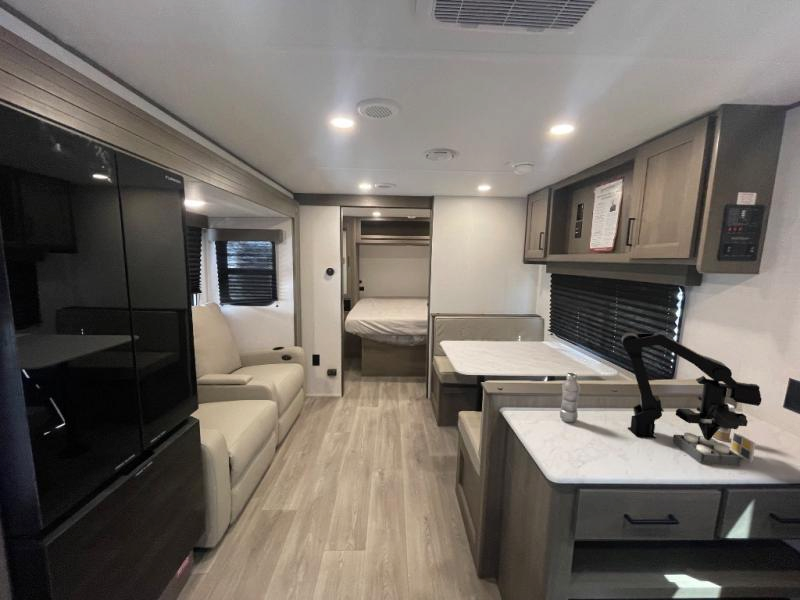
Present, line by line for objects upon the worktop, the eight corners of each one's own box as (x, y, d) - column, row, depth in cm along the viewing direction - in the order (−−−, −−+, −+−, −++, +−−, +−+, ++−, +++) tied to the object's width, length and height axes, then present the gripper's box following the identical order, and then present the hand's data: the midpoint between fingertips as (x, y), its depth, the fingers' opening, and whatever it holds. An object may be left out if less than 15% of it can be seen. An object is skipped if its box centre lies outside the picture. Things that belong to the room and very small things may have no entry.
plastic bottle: (555, 417, 130) (559, 372, 128) (568, 415, 132) (572, 370, 130) (568, 425, 124) (572, 378, 122) (581, 423, 126) (585, 376, 124)
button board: (700, 463, 102) (701, 454, 101) (672, 442, 113) (673, 434, 113) (739, 466, 100) (741, 457, 100) (707, 444, 112) (708, 436, 112)
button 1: (688, 444, 108) (689, 437, 108) (680, 438, 111) (681, 432, 111) (700, 445, 108) (701, 438, 107) (691, 439, 111) (692, 432, 111)
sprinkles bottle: (730, 439, 116) (736, 405, 114) (727, 443, 113) (733, 408, 111) (713, 433, 119) (718, 400, 118) (710, 437, 117) (715, 403, 115)
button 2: (701, 457, 103) (702, 450, 102) (692, 450, 106) (693, 444, 106) (713, 458, 102) (714, 451, 102) (704, 451, 106) (705, 445, 106)
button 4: (720, 455, 102) (721, 448, 102) (710, 448, 106) (711, 442, 105) (732, 455, 102) (733, 449, 101) (721, 449, 105) (722, 442, 105)
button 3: (705, 448, 108) (706, 442, 107) (696, 442, 111) (697, 436, 111) (716, 449, 107) (717, 442, 107) (707, 443, 111) (708, 437, 110)
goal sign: (749, 462, 102) (753, 443, 101) (729, 449, 109) (732, 431, 108) (752, 462, 102) (755, 443, 101) (731, 449, 109) (734, 431, 108)
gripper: (704, 407, 100) (697, 451, 102) (768, 410, 98) (760, 455, 100) (677, 392, 111) (671, 433, 113) (734, 395, 109) (727, 436, 111)
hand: (707, 439), depth 109 cm, fingers closed, pressing on button 3
